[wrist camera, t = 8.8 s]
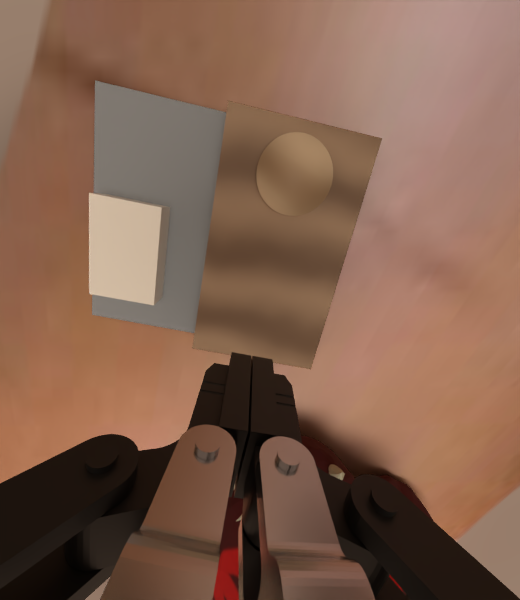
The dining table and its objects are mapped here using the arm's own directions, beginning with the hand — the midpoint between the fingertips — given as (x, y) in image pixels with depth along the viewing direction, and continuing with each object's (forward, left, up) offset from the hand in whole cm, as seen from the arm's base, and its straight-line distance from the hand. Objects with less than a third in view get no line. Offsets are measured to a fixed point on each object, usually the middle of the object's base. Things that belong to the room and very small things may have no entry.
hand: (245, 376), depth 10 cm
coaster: (-9, +2, -16) cm, 18 cm away
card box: (+1, -12, -16) cm, 20 cm away
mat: (-2, -10, -19) cm, 22 cm away
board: (-2, +2, -19) cm, 19 cm away
